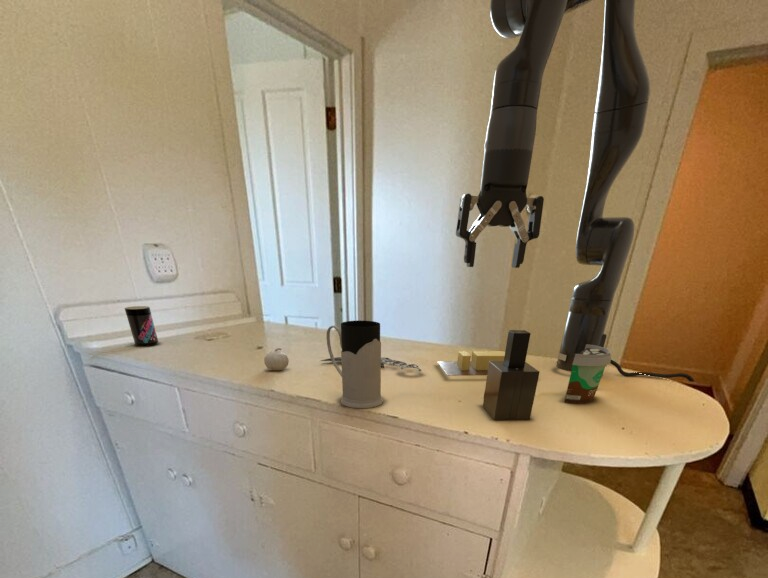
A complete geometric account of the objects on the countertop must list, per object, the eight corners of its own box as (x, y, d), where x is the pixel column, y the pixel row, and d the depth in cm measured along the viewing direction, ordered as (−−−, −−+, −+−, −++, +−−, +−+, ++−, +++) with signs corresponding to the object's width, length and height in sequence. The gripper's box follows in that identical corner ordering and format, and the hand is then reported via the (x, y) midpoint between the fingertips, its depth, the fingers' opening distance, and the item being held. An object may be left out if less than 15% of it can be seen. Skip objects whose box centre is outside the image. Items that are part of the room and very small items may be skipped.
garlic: (287, 366, 112) (285, 345, 109) (290, 371, 108) (288, 349, 105) (264, 367, 110) (261, 346, 107) (266, 373, 106) (263, 351, 103)
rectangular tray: (516, 365, 116) (517, 360, 115) (535, 379, 104) (536, 374, 104) (436, 365, 114) (437, 361, 114) (447, 380, 103) (447, 375, 102)
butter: (508, 365, 111) (510, 351, 109) (514, 370, 107) (516, 355, 105) (470, 365, 111) (472, 351, 109) (475, 370, 106) (477, 355, 104)
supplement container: (135, 347, 128) (124, 309, 122) (134, 343, 133) (123, 306, 127) (160, 345, 131) (150, 308, 125) (157, 341, 136) (148, 305, 130)
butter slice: (464, 365, 110) (466, 351, 109) (469, 370, 106) (470, 355, 104) (457, 365, 110) (458, 351, 108) (461, 370, 106) (462, 355, 104)
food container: (593, 409, 86) (608, 358, 81) (562, 403, 89) (574, 354, 84) (603, 394, 95) (617, 347, 90) (574, 389, 98) (586, 343, 92)
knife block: (515, 405, 88) (524, 360, 83) (529, 419, 81) (539, 371, 76) (482, 406, 87) (489, 360, 82) (494, 420, 80) (501, 371, 75)
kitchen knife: (509, 407, 85) (523, 329, 78) (516, 414, 82) (531, 333, 74) (495, 407, 85) (507, 329, 77) (501, 414, 82) (515, 333, 74)
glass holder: (361, 411, 83) (360, 329, 75) (315, 395, 91) (309, 320, 83) (391, 401, 89) (393, 323, 81) (345, 387, 97) (342, 315, 89)
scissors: (318, 358, 114) (339, 349, 121) (319, 364, 114) (339, 355, 122) (414, 374, 102) (431, 363, 110) (414, 381, 103) (430, 369, 110)
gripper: (472, 143, 64) (460, 268, 72) (561, 147, 65) (539, 269, 74) (458, 152, 70) (449, 265, 79) (540, 155, 72) (522, 266, 80)
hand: (492, 267), depth 76 cm, fingers open, 8 cm apart
